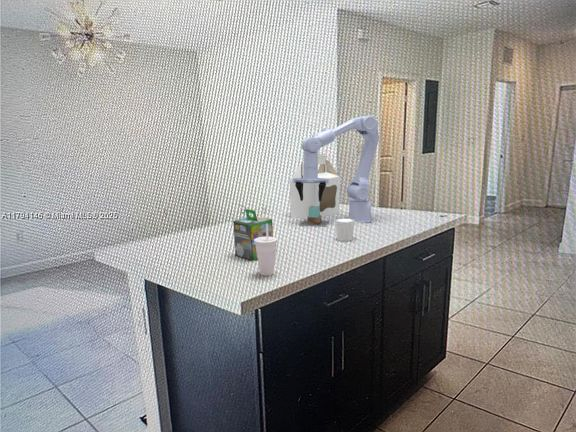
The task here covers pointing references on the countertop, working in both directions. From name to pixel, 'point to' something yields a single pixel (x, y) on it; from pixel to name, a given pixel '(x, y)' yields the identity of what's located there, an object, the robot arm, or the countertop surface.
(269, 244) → the smoothie
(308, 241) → the countertop surface
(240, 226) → the green carry carton
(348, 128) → the robot arm
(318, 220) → the walnut block
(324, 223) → the build mat
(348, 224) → the white cylinder
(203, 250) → the countertop surface
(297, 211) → the gable box
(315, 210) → the teal cube
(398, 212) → the countertop surface
